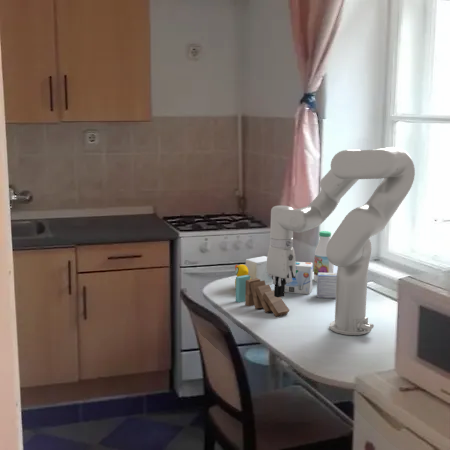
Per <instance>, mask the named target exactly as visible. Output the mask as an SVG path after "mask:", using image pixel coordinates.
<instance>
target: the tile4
mask: <svg viewBox="0 0 450 450" xmlns="http://www.w3.org/2000/svg"><path fill="white" fill-rule="evenodd" d="M259 281H260V279H258V278H255V279H250V280H246V293H245V301H244V305H245V306H247V307H251V306H255V305H254V300H253V295H252V290H251V285H250V283H254V282H259Z"/></svg>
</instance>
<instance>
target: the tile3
mask: <svg viewBox="0 0 450 450" xmlns="http://www.w3.org/2000/svg"><path fill="white" fill-rule="evenodd" d="M250 285H251V290H252V295H253V300H254V305H253V306H254V309H255V310H256V309H261V308H263V306H262V304H261V301H260V299H259V297H258V295H257V292H256V290H255V289H256V288H257V287H259V286H264V285H265V280H264V281H259V282H254V283H250Z"/></svg>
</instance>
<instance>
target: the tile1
mask: <svg viewBox="0 0 450 450" xmlns="http://www.w3.org/2000/svg"><path fill="white" fill-rule="evenodd" d="M263 298H264V299H265V301H266V302H267V304H268V306H269V307H270V309H271V310H272V311H271V312H272V314H273V315H274V316H275V317H281V316H283V315H285V316H286V315H287V314H288V313H289V312H290V308H289V307H288V306H287V304H286V302H285V301H284V300H283V298H282V297H275V296H274V290H272V291H269V292H265V293H264V294H263Z"/></svg>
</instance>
